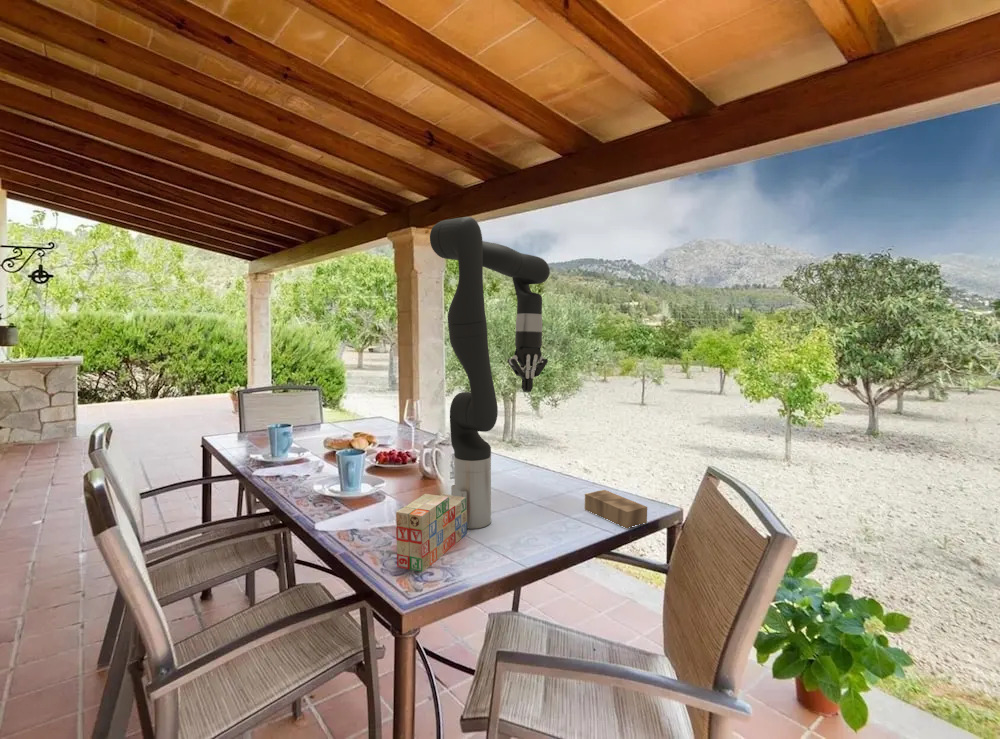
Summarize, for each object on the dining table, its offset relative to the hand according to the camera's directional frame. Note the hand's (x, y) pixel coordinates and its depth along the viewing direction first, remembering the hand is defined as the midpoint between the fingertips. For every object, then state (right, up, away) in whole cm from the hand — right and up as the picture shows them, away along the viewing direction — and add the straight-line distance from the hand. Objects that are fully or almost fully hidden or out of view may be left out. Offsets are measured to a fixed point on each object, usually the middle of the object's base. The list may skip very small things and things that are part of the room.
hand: (527, 391), depth 153 cm
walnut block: (+18, -30, -4) cm, 35 cm away
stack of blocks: (-23, -35, -31) cm, 52 cm away
